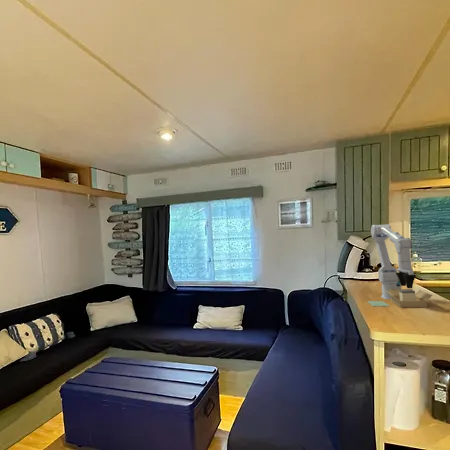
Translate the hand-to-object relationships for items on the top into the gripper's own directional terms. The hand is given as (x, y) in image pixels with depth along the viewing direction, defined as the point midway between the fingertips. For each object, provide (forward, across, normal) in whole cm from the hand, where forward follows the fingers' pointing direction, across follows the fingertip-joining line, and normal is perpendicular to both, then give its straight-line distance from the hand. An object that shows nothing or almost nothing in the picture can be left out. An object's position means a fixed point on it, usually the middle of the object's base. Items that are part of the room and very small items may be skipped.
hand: (406, 287), depth 156 cm
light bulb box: (+10, -30, +4) cm, 31 cm away
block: (+9, -1, 0) cm, 9 cm away
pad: (+9, -2, -14) cm, 17 cm away
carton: (+9, -2, 0) cm, 10 cm away
